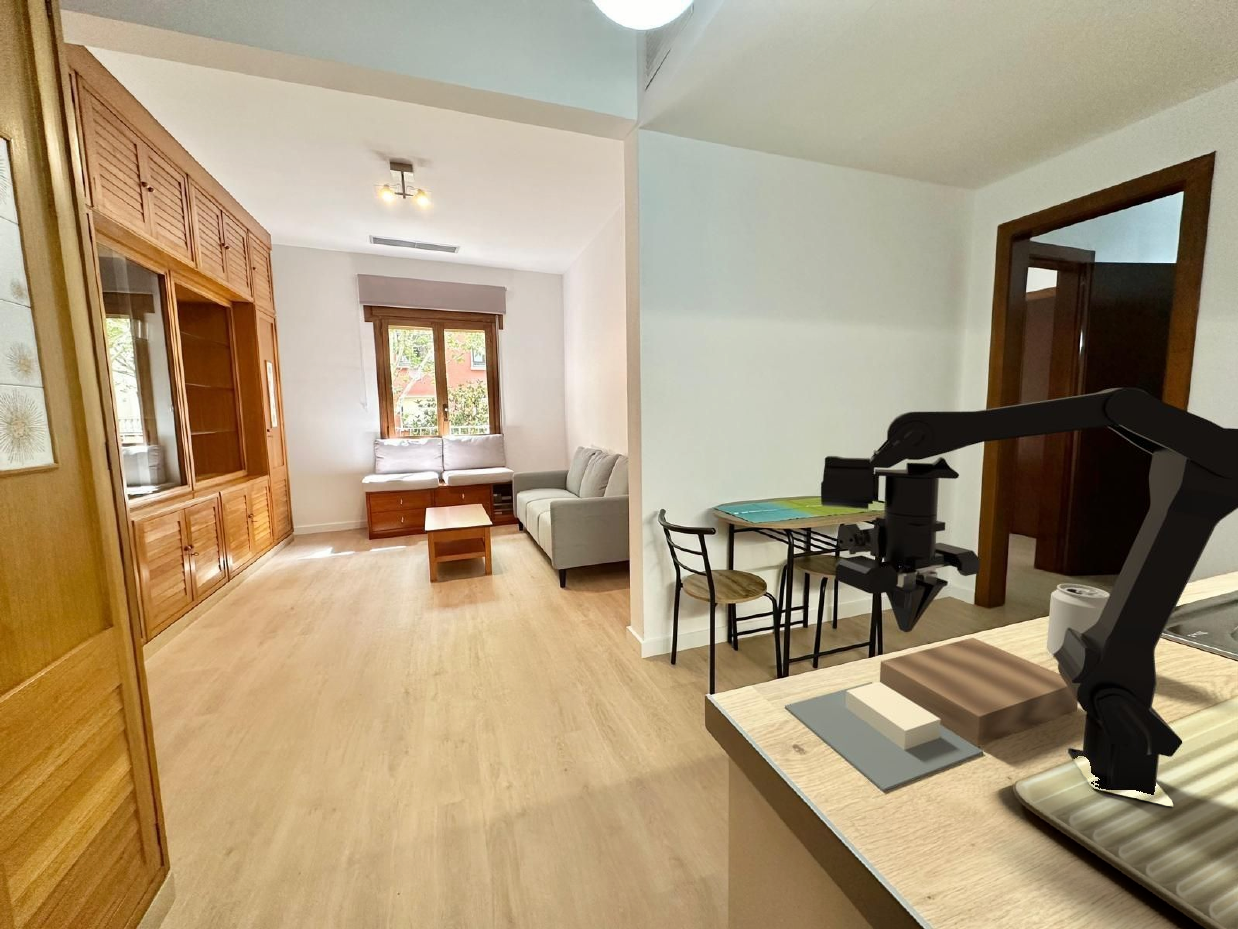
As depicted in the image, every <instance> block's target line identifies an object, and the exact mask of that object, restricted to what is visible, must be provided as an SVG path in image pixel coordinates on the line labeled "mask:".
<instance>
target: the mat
mask: <svg viewBox="0 0 1238 929" xmlns="http://www.w3.org/2000/svg"><path fill="white" fill-rule="evenodd" d="M872 683H873V682H872V681H869V682H866V683H863V684H862V683H861V684H859V685H855V686H852V687H847V688H845V689H839V690H837V691H834V692H830V693H827V694H826V693H825V694H822V695H819V696H815V697H811V698H808V699H805V700H801V701H796V702H794V703H790V704H785V705H784V709H785V710H786V711H788V712H789V713H790V714H791V715H792V716H794V717H795V718H796V719H797V720H798V721H800V722H801V723H802V724H803V725H804V726H805V727H807V728H808V729H809V730H810V731H811V732H812V733H814V734H815V735H816V736H817V737H818V738H820V739H821V740H822V741H823V743H825V744H826V745H828V746H829V747H830V748H831V749H832V750H834V751H835V752H836V753H837V754H839V756H841V757H842V758H843V759H844V760H845V761H846V762H848V763H849V764H850V765H851V766H853V767H854V768H855V770H857V771H858V772H859V773H860V774H862V775H863V776H864V777H865V778H866V779H868V780H869V781H870V782H871V783H873V785H875V786H876V787H877V788H878V789H879V790H881V791H882V792H886V791H887V790H891V789H894V788H897V787H898V786H901V785H905V784H907V783H909V782H911V781H914V780H917V779H920V778H923V777H925V776H928V775H930V774H933V773H936V772H938V771H940V770H944V769H946V768H948V767H951V766H953V765H956V764H960V763H961V762H965V761H966V760H970V759H972V758H975V757H978V756H980V755H982V754H984V751H983V750H982V749H980V748H979V747H976V746H974V745H973V744H971V743H970V742H968V741H966V740H965V739H963V738H962V737H960V736H958V735H957V734H955V733H953V732H952V731H950V730H949V729H947V728H945V727H944V726H942V725H941V724H940V738H937V739H934V740H932V741H929V742H926V743H923V744H920V745H917V746H914V747H912V748H909V749H906V750H904V749H902V748H901V747H899V746H898V745H897V744H895V743H894V742H892V741H891V740H890V739H888V738H887V737H886V736H884V735H883V734H881V733H880V732H879V731H877V730H876V729H875V728H873V727H872V726H870V725H869V724H868V723H866V722H865V721H863V720H862V719H861V718H859V717H858V716H857V715H855V714H854V713H852V712H851V711H850V710H848V709H847V708H846V691H847V690H850V689H854V688H858V687H861V686H865V685H869V684H872Z"/></svg>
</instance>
